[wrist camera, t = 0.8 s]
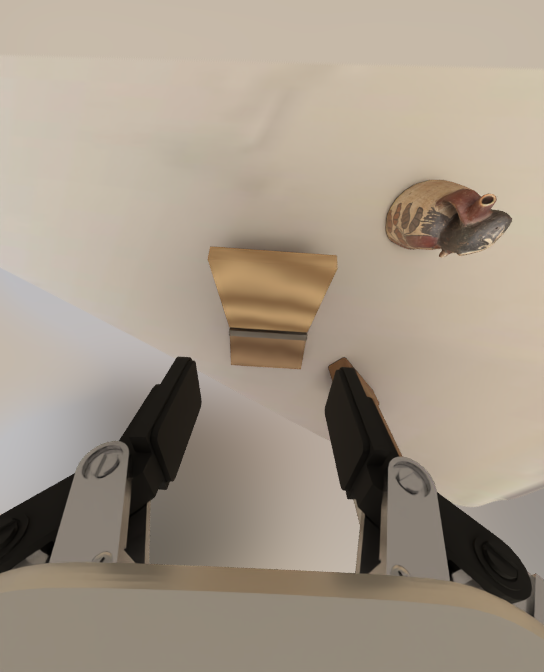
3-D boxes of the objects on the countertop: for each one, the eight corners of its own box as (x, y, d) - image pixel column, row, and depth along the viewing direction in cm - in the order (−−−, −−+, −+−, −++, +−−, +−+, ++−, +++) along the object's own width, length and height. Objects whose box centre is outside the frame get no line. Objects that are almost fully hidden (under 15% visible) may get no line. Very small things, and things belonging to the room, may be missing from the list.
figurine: (391, 256, 30) (450, 289, 20) (378, 202, 27) (440, 208, 17) (449, 229, 28) (547, 248, 18) (442, 167, 25) (558, 148, 15)
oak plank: (307, 323, 35) (307, 332, 35) (230, 318, 35) (229, 327, 34) (336, 255, 21) (337, 268, 21) (210, 246, 21) (207, 259, 20)
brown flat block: (300, 362, 40) (301, 369, 38) (232, 358, 40) (230, 365, 38) (305, 329, 36) (307, 335, 35) (231, 324, 36) (229, 330, 35)
